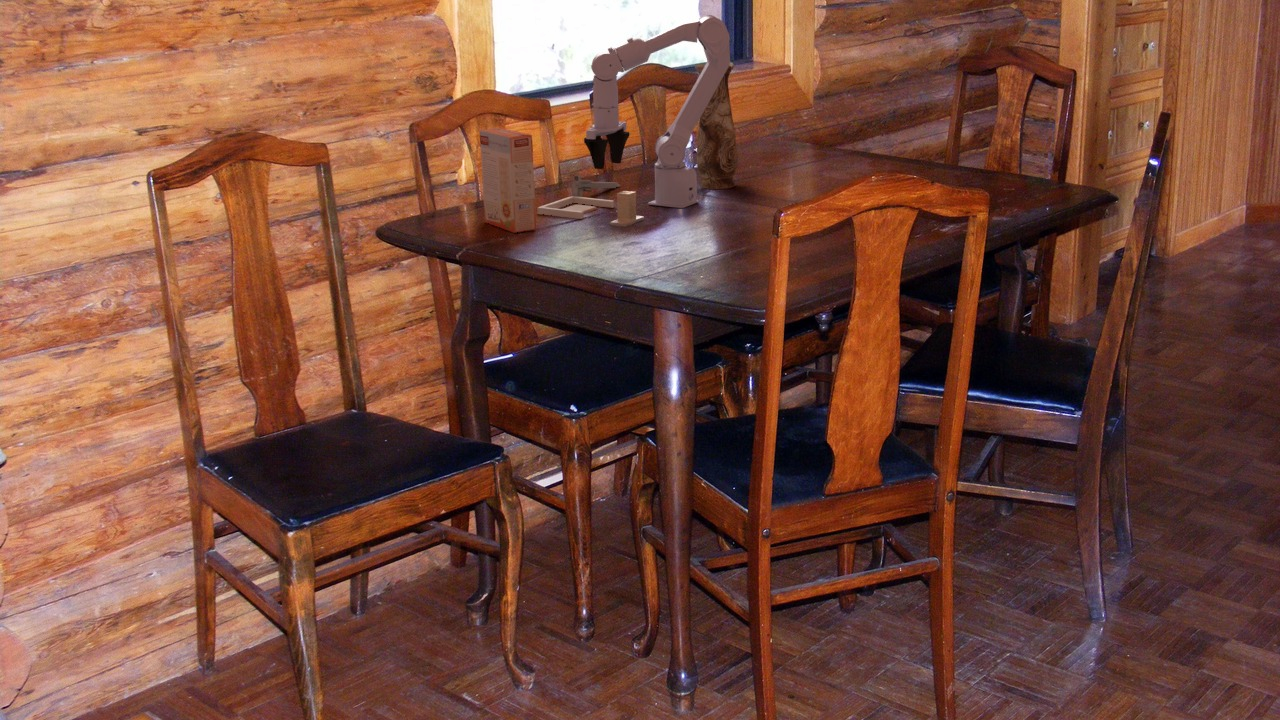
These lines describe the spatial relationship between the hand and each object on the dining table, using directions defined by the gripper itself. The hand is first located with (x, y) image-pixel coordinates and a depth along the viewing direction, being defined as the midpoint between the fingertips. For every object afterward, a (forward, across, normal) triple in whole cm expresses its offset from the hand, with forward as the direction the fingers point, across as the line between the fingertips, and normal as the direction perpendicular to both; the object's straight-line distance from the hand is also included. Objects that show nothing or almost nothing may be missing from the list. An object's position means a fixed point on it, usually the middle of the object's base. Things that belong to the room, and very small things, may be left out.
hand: (607, 165), depth 295 cm
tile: (+10, +7, -4) cm, 13 cm away
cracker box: (+10, +27, -9) cm, 30 cm away
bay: (+10, +7, -4) cm, 13 cm away
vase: (+10, -31, +12) cm, 35 cm away
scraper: (+10, +13, +13) cm, 20 cm away
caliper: (+10, -11, -10) cm, 18 cm away
